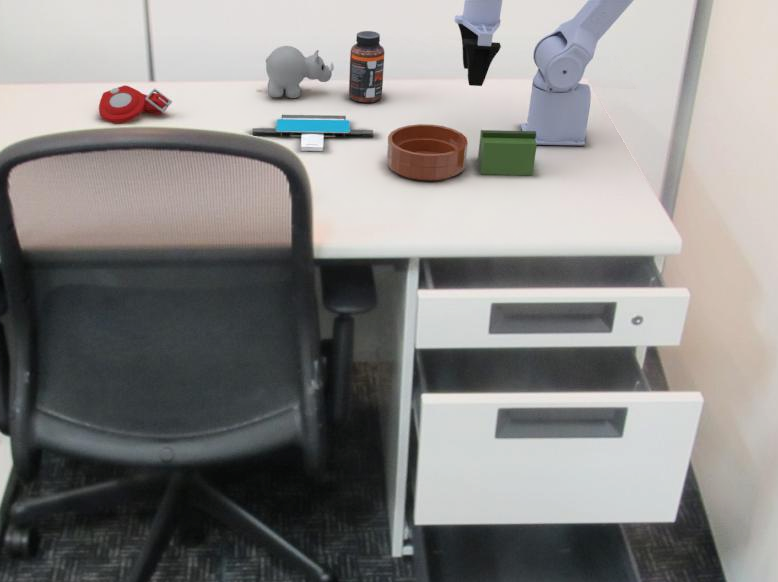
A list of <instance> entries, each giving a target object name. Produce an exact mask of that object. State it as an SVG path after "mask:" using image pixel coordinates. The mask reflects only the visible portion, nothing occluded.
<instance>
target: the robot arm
mask: <svg viewBox="0 0 778 582" xmlns="http://www.w3.org/2000/svg"><path fill="white" fill-rule="evenodd" d="M634 1H635V0H587V1H586V3H585V4H584V5H583V6H582V7H581V9H580V10H579V11H578V12H577V13H576V14H575V15H574V17H573V18H571V19H570V20H567V21H565V22H562V23H561V24H560V25H559V26H558V27H557V28H556V29H555V30H554V31H553V32H551V33H549V34H547V35H545V36H544V37H542V38H541V39H540V40H538V42H537V43H536V45H535V47H534V49H533V54H532V55H533V56H532V57H533V62H534V64H535V66H536V67H537V71H536V73H535V74H534V76H533V78H532V85H531V91H530V99H529V107H528V115H527V120H526V121H527V123H525V122H524V123H521V124H520V128H521V131H536V138H535V140H536V143H537V146H539V145H542V146H543V145H544V146H585V145H586V141H585V140H586V134H587V128H588V121H589V115H590V110H591V101H592V100H591V99H592V95H591V94H592V92H591V87H590V85H589V84H586V83H580V82H581V80H582V78H583V77H584V74H585V70H586V68H587V66H588V65H589V63H590V62H591V61H592V60H593V59H594V57H595V51H596V49H597V44H598V42H599V41H600V39H602V37H603V36H604V35H605V34H606V32H608V31H609V29H610V28H611V27H612V26H613V24H614V23H615V22H616V21H617V20H618V19H619V18H620V17H621V15H623V13H624V12H625V11H626V10H627V9H628V8H629V6H630V5H632V3H633V2H634ZM502 5H503V0H464V4H463V12H462V14H461V15H459V14H457V15H454V23H455V24H457V26H458V29H459V33H460V37H461V44H462V64H463V69H465V70H467V83H468V85H469V86H471V87H473V86H474V87H482V86H483V84H484V82H485V79H486V77H487V74H488V72H489V69H490V67H491V64H492V62H493V60H494V58H495V57H496V55H497V54H498V53H499V51H500V49H501V48H502V45H501V43H500V42H493V36H494V34H495V32H496V31H497V30H498V29H499V28H500V26H501V14H502V13H501V11H502Z"/></svg>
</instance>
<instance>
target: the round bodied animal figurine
mask: <svg viewBox="0 0 778 582" xmlns="http://www.w3.org/2000/svg"><path fill="white" fill-rule="evenodd" d="M265 71H266V74H267V76H268V78H269V79H268V81H267V89H268V94H269V95H268V96H270V97H271V98H280V97H282V96H284V93H285V96H286V97H287V98H289V99H296V98H299V97H300V96H301V87H300V84H301V83H302V82H303V81H304V79H305V78H307V79H308V80H318V81H319V82H321V83H327V82H329V81H330V80H331V78H332V73H333V71H334V63H333V61H330V66H329V65H328V64H326V63H325V62H324V59H323V58H322V57H321V56H320V55H319V50H318V49H317V50H315V52H314V53H313V54H312V55H309V56H305V55H304V54H303V53H302V52H301V51H300V50H299V49H298V48H296V47H294V46H292V45H282V46H279V47H277V48H275V49H274V50H272V51H271V52H270V54H269V55H268V56H267V57H266V59H265Z"/></svg>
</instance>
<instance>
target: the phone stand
mask: <svg viewBox="0 0 778 582" xmlns="http://www.w3.org/2000/svg"><path fill="white" fill-rule="evenodd" d="M251 132H252V134H251V136H252V135H255V136H257V137H258V136H260V137H261V136H262V137H282V138H283V137H287V138H288V137H290V138H291V137H293V138H300V139H301V140H300V151H301V152H324V138H345V139H346V138H347V139H349V138H350V139H351V138H353V139H363V138H374V130H373V129H351V120H349V119H347V116H346V115H328V114H327V115H323V114H321V115H319V114H318V115H317V114H281V118H277V119H276V125H275V128H273V127H271V128H269V127H268V128H267V127H265V128H264V127H263V128H261V127H260V128H259V127H257V128H256V127H255V128H254V127H252V131H251Z"/></svg>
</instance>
